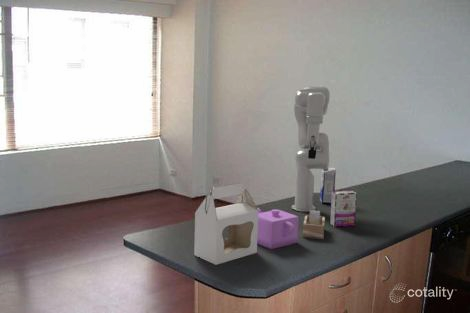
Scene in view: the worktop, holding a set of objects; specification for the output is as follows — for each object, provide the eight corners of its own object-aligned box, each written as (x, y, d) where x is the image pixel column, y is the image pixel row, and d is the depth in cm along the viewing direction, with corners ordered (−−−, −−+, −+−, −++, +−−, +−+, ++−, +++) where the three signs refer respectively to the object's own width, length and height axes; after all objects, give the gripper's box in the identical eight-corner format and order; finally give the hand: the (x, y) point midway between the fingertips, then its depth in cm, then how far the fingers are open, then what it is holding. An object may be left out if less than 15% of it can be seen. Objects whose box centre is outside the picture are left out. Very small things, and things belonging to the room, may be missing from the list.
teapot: (266, 230, 236) (267, 200, 233) (305, 246, 217) (307, 213, 214) (240, 236, 226) (241, 205, 224) (279, 253, 207) (280, 219, 205)
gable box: (235, 243, 216) (237, 178, 211) (257, 252, 207) (260, 184, 202) (193, 255, 201) (194, 185, 197) (215, 265, 192) (217, 192, 187)
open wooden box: (304, 227, 242) (305, 215, 241) (324, 229, 240) (324, 216, 239) (302, 237, 227) (303, 224, 226) (323, 239, 226) (324, 226, 225)
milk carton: (333, 204, 287) (336, 169, 283) (321, 203, 287) (323, 168, 283) (331, 201, 294) (333, 166, 290) (319, 200, 294) (322, 166, 290)
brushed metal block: (309, 229, 237) (310, 210, 235) (318, 229, 236) (320, 210, 234) (308, 231, 232) (309, 212, 231) (318, 232, 231) (319, 213, 230)
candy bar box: (350, 223, 252) (352, 190, 249) (355, 226, 247) (357, 192, 244) (329, 224, 249) (331, 191, 246) (334, 227, 244) (336, 193, 241)
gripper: (307, 118, 246) (305, 153, 249) (305, 121, 229) (303, 159, 232) (323, 118, 244) (320, 154, 247) (322, 122, 228) (319, 160, 230)
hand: (312, 156), depth 240 cm, fingers open, 9 cm apart
